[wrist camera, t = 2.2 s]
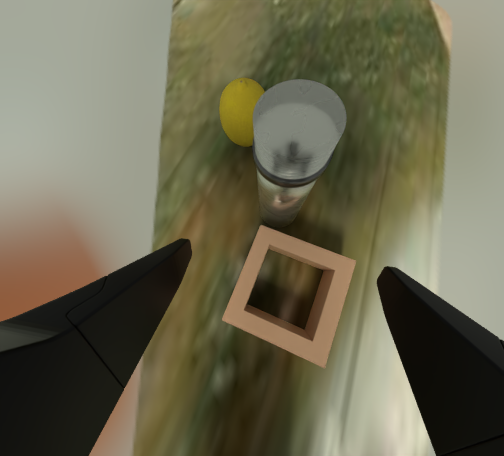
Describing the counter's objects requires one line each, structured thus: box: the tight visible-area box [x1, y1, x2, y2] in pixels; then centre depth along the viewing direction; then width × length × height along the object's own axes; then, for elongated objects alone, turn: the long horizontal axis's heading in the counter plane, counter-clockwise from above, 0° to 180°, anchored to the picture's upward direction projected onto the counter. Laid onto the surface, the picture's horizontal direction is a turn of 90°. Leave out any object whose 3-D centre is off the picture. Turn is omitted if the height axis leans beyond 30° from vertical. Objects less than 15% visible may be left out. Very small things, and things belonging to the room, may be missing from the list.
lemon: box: [219, 78, 265, 147], centre depth 21 cm, size 6×6×8 cm
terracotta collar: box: [222, 225, 356, 368], centre depth 19 cm, size 9×9×4 cm
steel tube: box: [252, 79, 346, 227], centre depth 16 cm, size 5×5×14 cm
